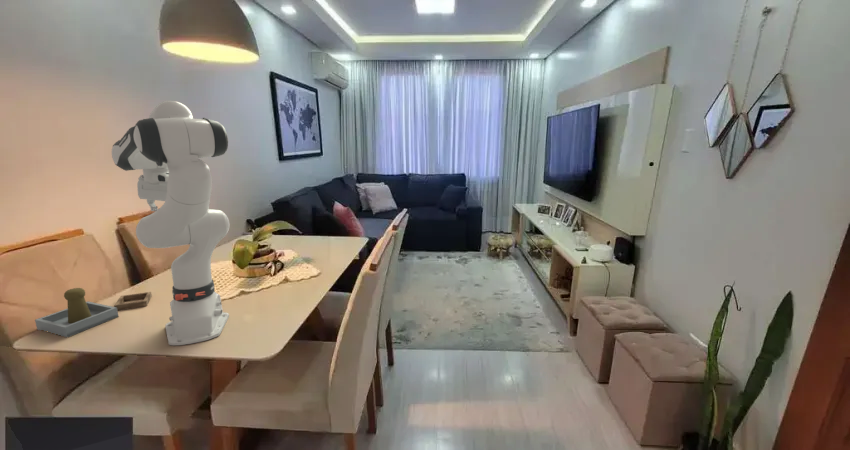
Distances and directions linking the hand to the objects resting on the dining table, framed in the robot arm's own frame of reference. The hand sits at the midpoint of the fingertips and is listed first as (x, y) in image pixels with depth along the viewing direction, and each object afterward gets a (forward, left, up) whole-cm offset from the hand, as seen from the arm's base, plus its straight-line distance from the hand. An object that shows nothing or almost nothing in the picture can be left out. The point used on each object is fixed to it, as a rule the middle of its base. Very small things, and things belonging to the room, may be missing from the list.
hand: (163, 211), depth 142 cm
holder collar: (-3, +13, -34) cm, 37 cm away
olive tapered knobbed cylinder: (-13, +26, -33) cm, 44 cm away
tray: (-14, +26, -34) cm, 45 cm away
